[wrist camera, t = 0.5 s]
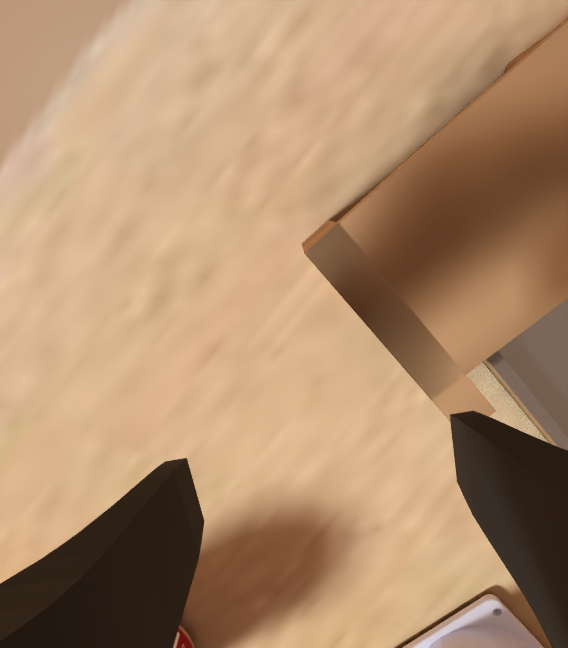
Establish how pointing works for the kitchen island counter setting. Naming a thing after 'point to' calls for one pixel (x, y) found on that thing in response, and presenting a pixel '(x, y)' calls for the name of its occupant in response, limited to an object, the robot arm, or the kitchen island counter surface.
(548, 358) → the tray
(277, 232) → the kitchen island counter surface
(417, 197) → the overhang
